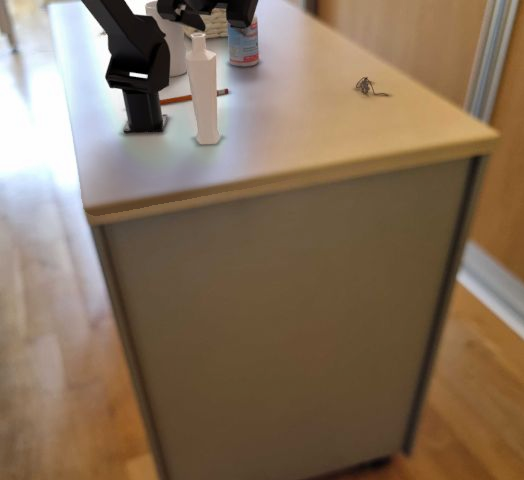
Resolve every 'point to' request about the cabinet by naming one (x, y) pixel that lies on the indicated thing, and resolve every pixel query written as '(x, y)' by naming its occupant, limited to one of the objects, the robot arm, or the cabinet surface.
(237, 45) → the pill bottle
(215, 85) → the perfume bottle
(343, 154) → the cabinet surface
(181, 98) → the pencil
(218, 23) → the basket
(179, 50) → the mug
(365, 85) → the pendant
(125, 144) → the cabinet surface
